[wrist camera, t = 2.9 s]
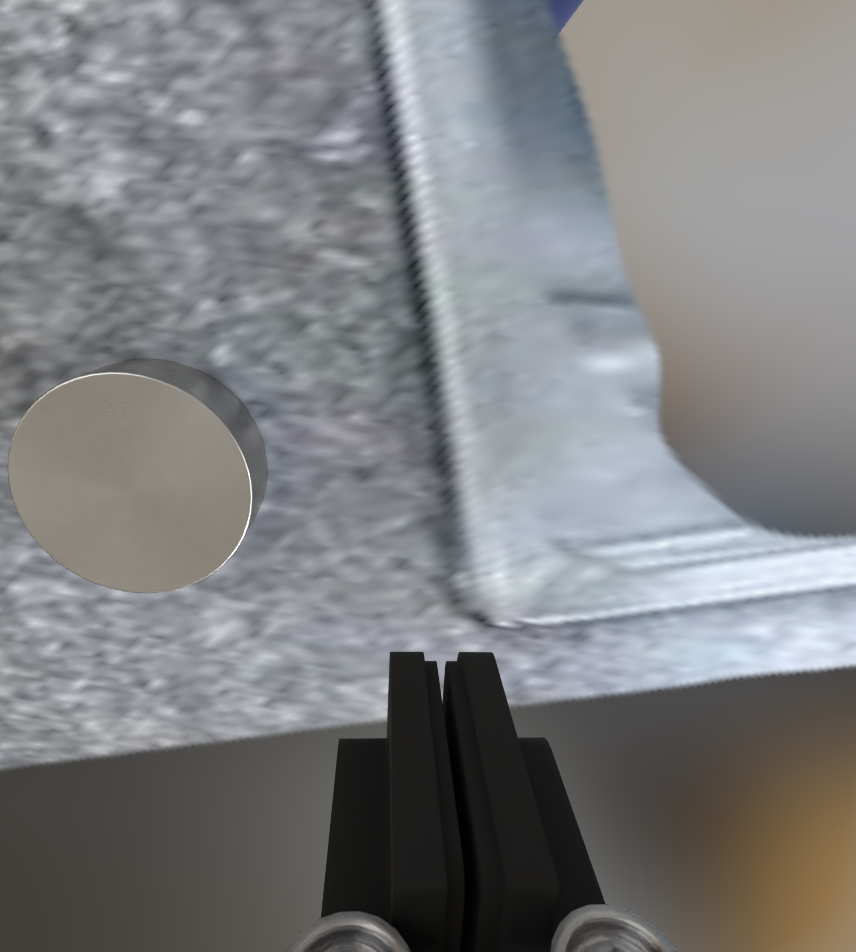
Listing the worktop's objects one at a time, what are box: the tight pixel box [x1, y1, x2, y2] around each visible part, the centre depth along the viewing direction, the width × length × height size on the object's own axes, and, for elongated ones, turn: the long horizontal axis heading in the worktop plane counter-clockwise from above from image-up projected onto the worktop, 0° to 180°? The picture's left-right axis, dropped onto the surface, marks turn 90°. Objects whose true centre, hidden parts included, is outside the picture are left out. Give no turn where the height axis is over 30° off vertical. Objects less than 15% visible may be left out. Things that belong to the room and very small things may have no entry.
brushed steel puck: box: [8, 359, 268, 593], centre depth 19 cm, size 7×7×2 cm
